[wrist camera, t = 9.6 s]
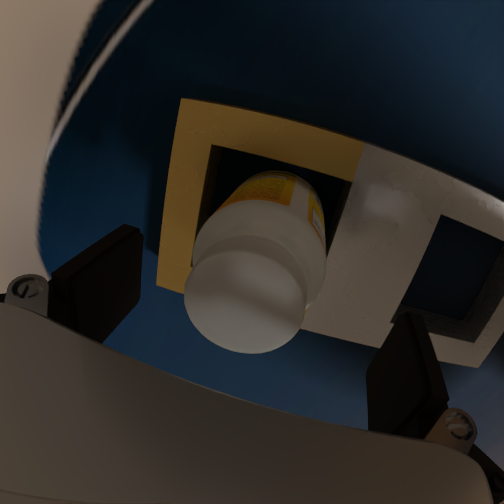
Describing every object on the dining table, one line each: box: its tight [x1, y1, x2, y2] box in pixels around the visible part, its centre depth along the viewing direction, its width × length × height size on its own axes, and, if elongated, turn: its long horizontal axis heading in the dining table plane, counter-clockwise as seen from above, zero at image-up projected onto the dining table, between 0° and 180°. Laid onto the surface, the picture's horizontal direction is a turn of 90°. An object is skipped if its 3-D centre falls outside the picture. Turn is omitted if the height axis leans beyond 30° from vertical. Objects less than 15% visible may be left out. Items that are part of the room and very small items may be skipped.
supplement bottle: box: [184, 171, 326, 354], centre depth 14 cm, size 5×5×10 cm
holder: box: [156, 98, 504, 368], centre depth 17 cm, size 23×11×3 cm, turn 77°
